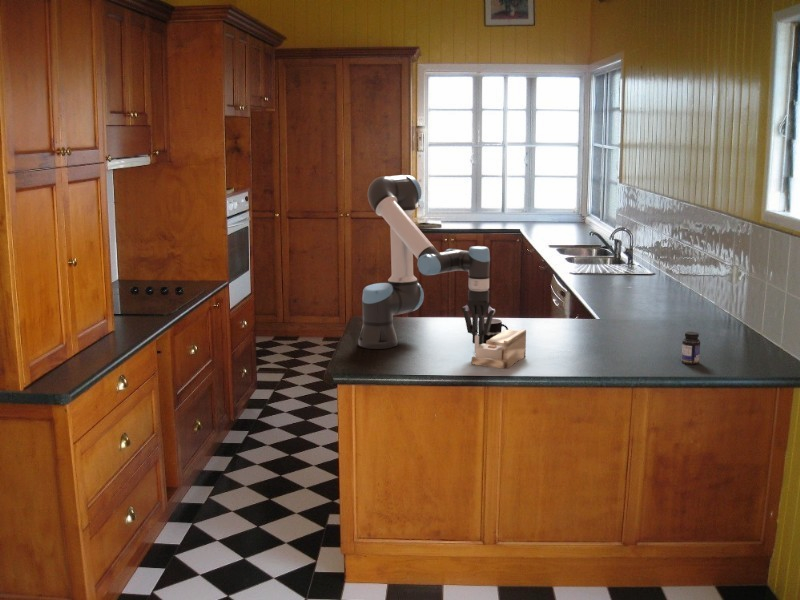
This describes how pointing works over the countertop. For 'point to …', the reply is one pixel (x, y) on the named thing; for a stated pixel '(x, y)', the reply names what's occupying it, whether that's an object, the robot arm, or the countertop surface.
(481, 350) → the cream white block
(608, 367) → the countertop surface
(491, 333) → the mug
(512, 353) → the shelf
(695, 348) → the pill bottle
